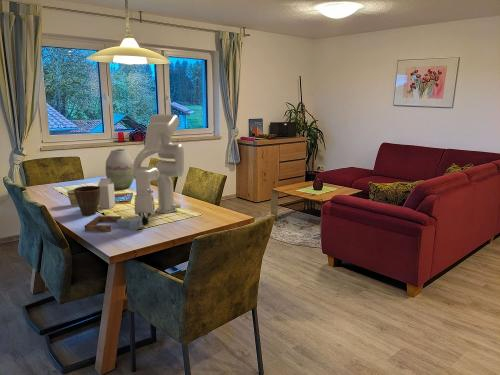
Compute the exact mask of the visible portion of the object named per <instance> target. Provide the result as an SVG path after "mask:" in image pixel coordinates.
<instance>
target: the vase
mask: <svg viewBox="0 0 500 375" xmlns="http://www.w3.org/2000/svg"><path fill="white" fill-rule="evenodd" d="M133 166H134V160H133V158H132V156H131V155H130V153H129V152H128V151H127V149H126V148H114V149H111V150H110V153H109V155H108V157H107V158H106V161H105V175H106V176H105V177H106V178H108V179H111V181H112V182H113V183H114V190H117V191H119V190H128V189H130V187H131V186H132V185H133V182H134V179H135V178H134V177H133Z"/></svg>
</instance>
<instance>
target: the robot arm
mask: <svg viewBox="0 0 500 375" xmlns="http://www.w3.org/2000/svg"><path fill="white" fill-rule="evenodd" d="M149 122H150V123H149V124H147V127H146V131H145V132H146V133H145V138H144V146H143V149H141V151H139V153H138V154H137V156H136V157H135V158H134V160H133V163H134V166H133V177H134V179H135V189H136V193H135V196H134V215H136V216H138V217H141V218H142V223H143V224H142V226H147V225H148V224H149V217H150V216H153V215H155V214H156V213H161V214H171V213H174V212H176V211H177V209H181V207H182V206H181V205H180V204H176V202H175V201H174V200H175V198H174V195H175V193H174V182H173V180H172V178H173V177H175V178H181V177H182V176H183V175H184V173H185V150H184V147H183V145H182V144H181V143H173V141H172V137H173V135H174V134H175V132H177V129H178V128H179V126H180V120H179V117H178V115H176V114H170V113H168V114H164V113H162V114H161V113H159V114H157V113H156V114H152V115H151V116H150V117H149ZM155 154H157V156H158V158H160V159H164V160H160V161H158V162H156V164H155V166H142V164H143V162H144V161H145V159H146V158H148V157H151V156H152V155H155ZM169 159H170V160H169ZM153 181H157V199H158V200H157V202H158V204H157V205H158V207H157V208H156V207H155V199H154V195H153V193H154V190H152V188H151V182H153ZM155 208H156V209H155ZM155 210H156V211H155ZM155 212H156V213H155Z"/></svg>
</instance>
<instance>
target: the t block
mask: <svg viewBox="0 0 500 375" xmlns="http://www.w3.org/2000/svg"><path fill="white" fill-rule="evenodd" d="M116 224H117V228H118V229H119V228H121V229H122V228H123V229H125V228H126V229H129V231H138V230H139V229H140V228H141V226H143V223H142V218H141V217H140V216H135V217H134V218H126V217H125V218H122V217H121V218H119V219H118V220H117V222H116Z"/></svg>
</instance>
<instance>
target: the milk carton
mask: <svg viewBox="0 0 500 375" xmlns="http://www.w3.org/2000/svg"><path fill="white" fill-rule="evenodd" d="M97 186H98V187H100V198H99V204H98V207H99V208H100V209H111V208H113V207H116V197H115V195H116V194H115V189H114V183H113V182H112V181H111V179H108V178H107V177H105V178H104V177H103V178H102V177H100V180H99V182H98V184H97Z"/></svg>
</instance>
